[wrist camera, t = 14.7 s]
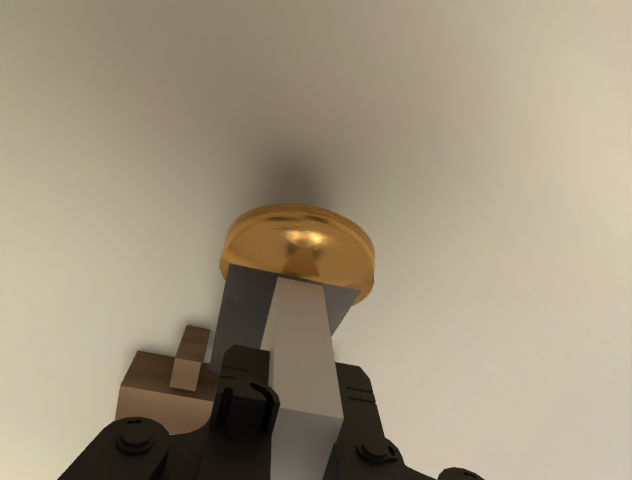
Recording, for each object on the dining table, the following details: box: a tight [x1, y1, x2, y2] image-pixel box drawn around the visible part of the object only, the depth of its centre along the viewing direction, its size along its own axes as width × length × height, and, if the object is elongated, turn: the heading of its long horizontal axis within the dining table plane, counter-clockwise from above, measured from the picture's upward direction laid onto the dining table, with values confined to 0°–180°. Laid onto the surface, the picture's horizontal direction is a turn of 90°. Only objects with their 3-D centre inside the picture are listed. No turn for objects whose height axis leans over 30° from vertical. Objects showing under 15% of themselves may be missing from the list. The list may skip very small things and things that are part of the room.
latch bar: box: [208, 204, 375, 377], centre depth 21 cm, size 14×5×1 cm
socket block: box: [115, 326, 219, 434], centre depth 28 cm, size 14×12×3 cm
